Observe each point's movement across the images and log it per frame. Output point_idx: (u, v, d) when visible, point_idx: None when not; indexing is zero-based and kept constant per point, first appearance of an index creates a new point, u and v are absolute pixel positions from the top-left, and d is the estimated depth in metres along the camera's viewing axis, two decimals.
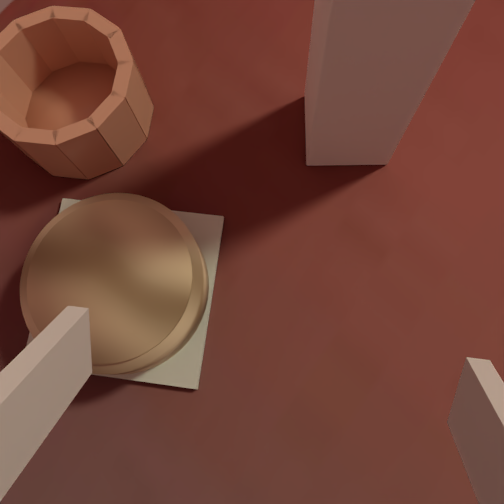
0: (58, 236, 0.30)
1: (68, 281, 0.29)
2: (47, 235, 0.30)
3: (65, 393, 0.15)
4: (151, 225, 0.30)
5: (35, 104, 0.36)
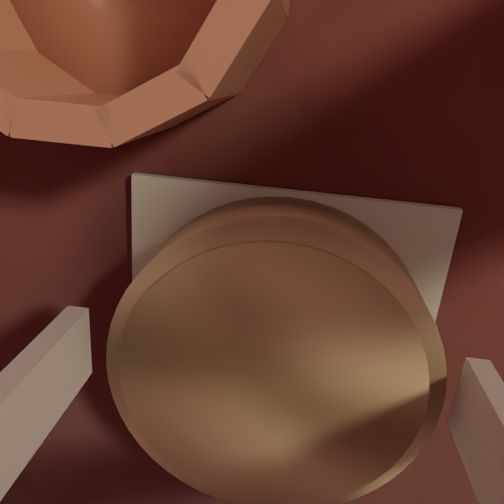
0: (159, 315, 0.15)
1: (195, 391, 0.16)
2: (137, 312, 0.15)
3: (65, 393, 0.15)
4: (345, 298, 0.14)
5: None
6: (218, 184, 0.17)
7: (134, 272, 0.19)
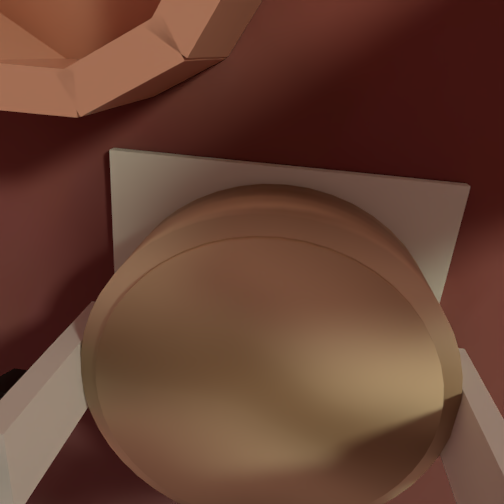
0: (138, 322, 0.14)
1: (181, 405, 0.15)
2: (112, 319, 0.14)
3: None
4: (349, 300, 0.13)
5: None
6: (204, 160, 0.16)
7: (116, 256, 0.18)
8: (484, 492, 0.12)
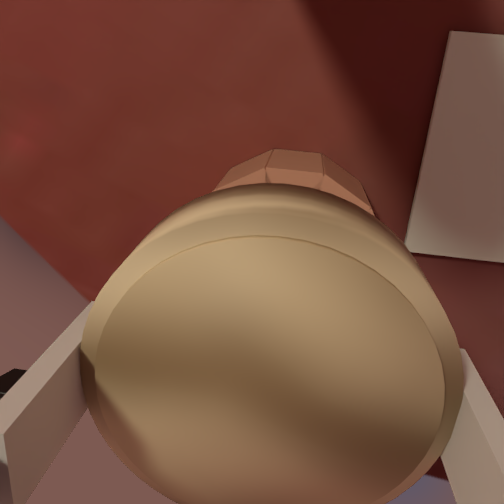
0: (137, 322, 0.14)
1: (181, 405, 0.14)
2: (112, 319, 0.14)
3: None
4: (349, 300, 0.13)
5: None
6: (416, 198, 0.27)
7: (472, 257, 0.28)
8: (484, 492, 0.12)
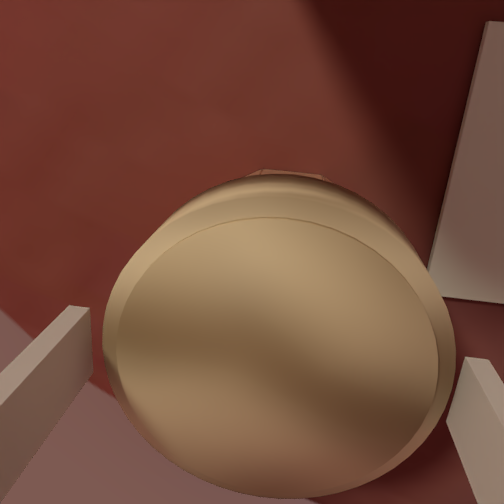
0: (156, 297, 0.15)
1: (195, 376, 0.16)
2: (133, 295, 0.15)
3: (66, 392, 0.15)
4: (350, 276, 0.14)
5: None
6: (439, 230, 0.22)
7: None
8: None
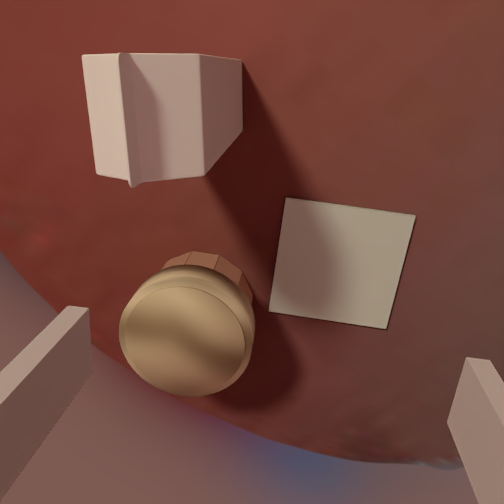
0: (141, 313, 0.40)
1: (155, 343, 0.41)
2: (132, 312, 0.40)
3: (65, 392, 0.15)
4: (210, 308, 0.39)
5: None
6: (273, 282, 0.47)
7: (307, 316, 0.48)
8: None
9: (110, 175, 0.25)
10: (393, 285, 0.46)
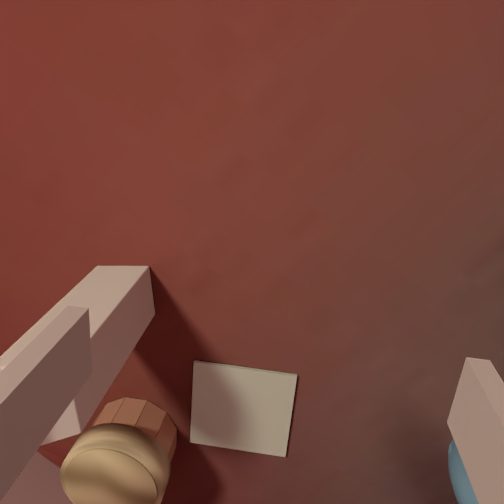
0: (75, 467, 0.51)
1: (88, 488, 0.52)
2: (68, 466, 0.51)
3: (65, 392, 0.15)
4: (127, 464, 0.50)
5: None
6: (191, 421, 0.58)
7: (221, 446, 0.59)
8: None
9: None
10: (286, 425, 0.56)
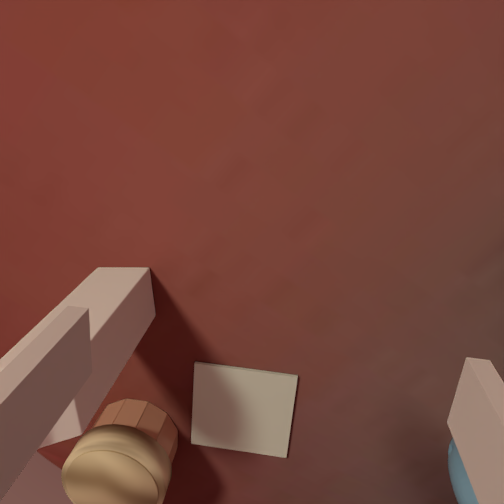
0: (76, 468, 0.51)
1: (89, 489, 0.52)
2: (69, 467, 0.51)
3: (65, 392, 0.15)
4: (128, 466, 0.50)
5: None
6: (192, 422, 0.58)
7: (222, 447, 0.59)
8: None
9: None
10: (287, 426, 0.56)
